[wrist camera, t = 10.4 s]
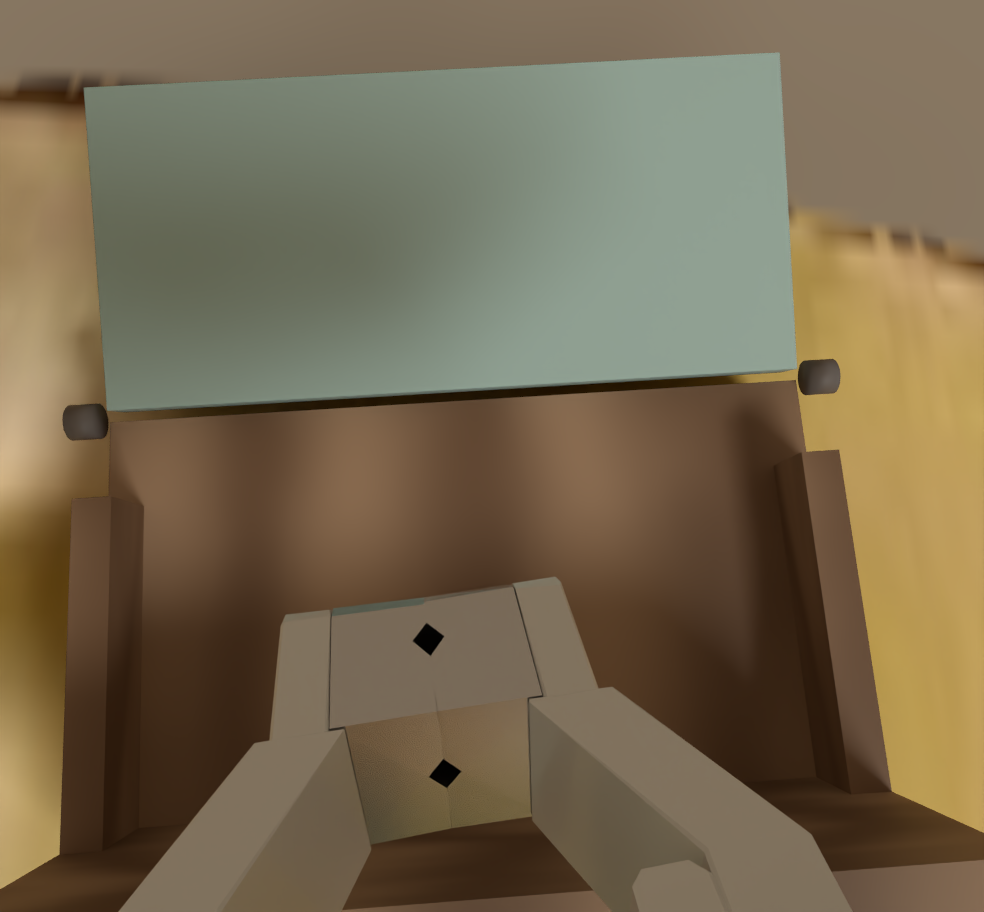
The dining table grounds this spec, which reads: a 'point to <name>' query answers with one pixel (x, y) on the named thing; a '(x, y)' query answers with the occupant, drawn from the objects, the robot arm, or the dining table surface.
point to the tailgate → (440, 231)
